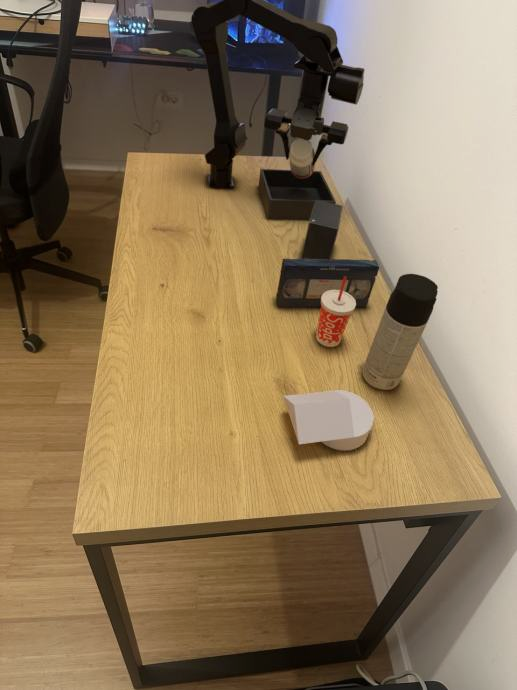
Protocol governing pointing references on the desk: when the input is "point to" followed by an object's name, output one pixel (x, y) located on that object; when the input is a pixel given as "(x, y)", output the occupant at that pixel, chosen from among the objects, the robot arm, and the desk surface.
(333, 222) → the small box
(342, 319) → the beverage cup
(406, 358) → the spray can
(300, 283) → the vhs cassette tape
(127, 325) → the desk surface
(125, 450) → the desk surface
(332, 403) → the wedge on round base
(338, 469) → the desk surface
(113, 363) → the desk surface
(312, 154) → the pill bottle
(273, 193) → the bin
